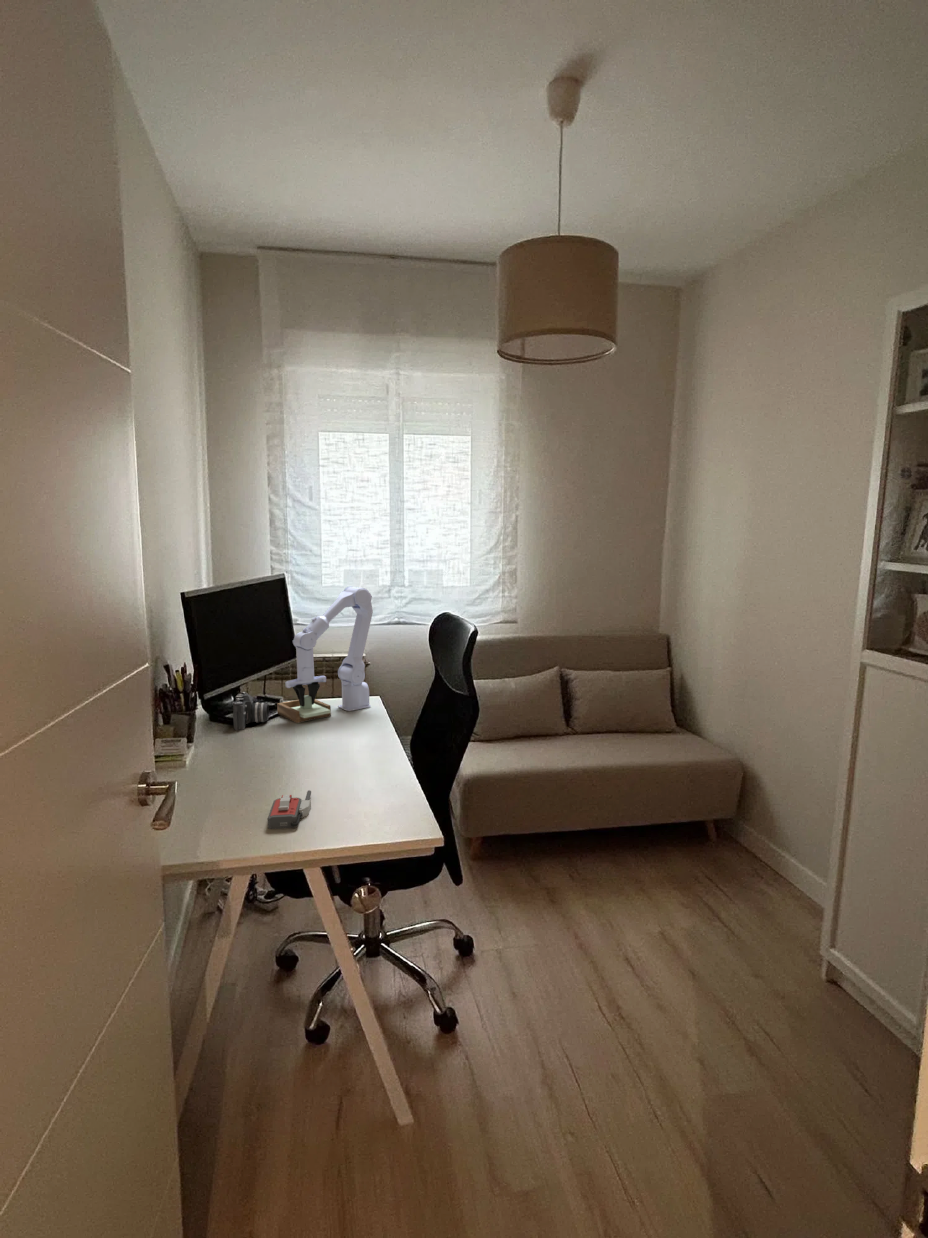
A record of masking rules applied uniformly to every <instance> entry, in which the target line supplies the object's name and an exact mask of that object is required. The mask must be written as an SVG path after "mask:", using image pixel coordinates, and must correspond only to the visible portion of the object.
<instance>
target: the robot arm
mask: <svg viewBox="0 0 928 1238" xmlns="http://www.w3.org/2000/svg"><path fill="white" fill-rule="evenodd" d="M372 598H373V595H372V594H371V593H370V591H369V590H368V589H367V588H365V587H357V586H356V587H355V586H352V585H349V586H346V587H345V588H344V589H343V590H342V591H340V592H339V595H338V596H337V598H336V599H335V600H333V602H332V603H331V605H330V606H329V607H328V608H327V610H325V611H324V612H323V614H322V615H316V616H313V617H312V618H311V621H310V622H309V623H308V624H307V626H305V627H303V628H302V631H300V632H297V633H296V634H295V635H294V638H293V640H292V644H293V646H294V647H295V649H296V650H295V651H296V655H295V656H296V672H297V673H296V675H297V678H295V679H291V680H287V681H285V682H284V683H285V688H287V689H290V688H292V689H293V690H294V692H295V695H296V696H297V700H299V703H300V706H304V705H305V701H304V696H305V693H306V687H304V686H306V685H307V689H308V690H307V691H308V695H309V696H311V697H312V705H313V704H314V701H315V699H316V696H317V694H318V692H319V689H320V687H321V684H320V683H326V682H327V676H325V675H318V676H315V664H314V648H315V647H316V645H317V640H318V639H319V638H320V637H322V635H323V634H325V632H326V631H327V630H328V629H329V628H330V622H331V621H332V620H333V619H335V618H336V617H337V616H338V615H339V614H340V613H341V612H342V611H343V610H344V609H347V608H352V609H353V611H354V612H355V614H356V616H355V621H354V625H353V629H352V633H351V639H350V643H349V647H348V651H347V656H346V657H344V659H342V663H341V665H340V666H339V668H338V669H337V675H338V679H340V681H341V703H342V704H341V705H337V707H338V708H339V709H341V710H345V711H347V712H352V711H356V710H362V709H366V708H371V704H370V689H369V685H368V683H367V682H365V681H364V680H365V679H366V672H365V668H366V664H365V662H364V660H363V656H364V653H365V647H366V643H367V641H368V640H367V639H368V636H369V635H368V634H369V631H370V627H371V622H372V617H373V614H374V613H373V611H374V610H373V605H372Z"/></svg>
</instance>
